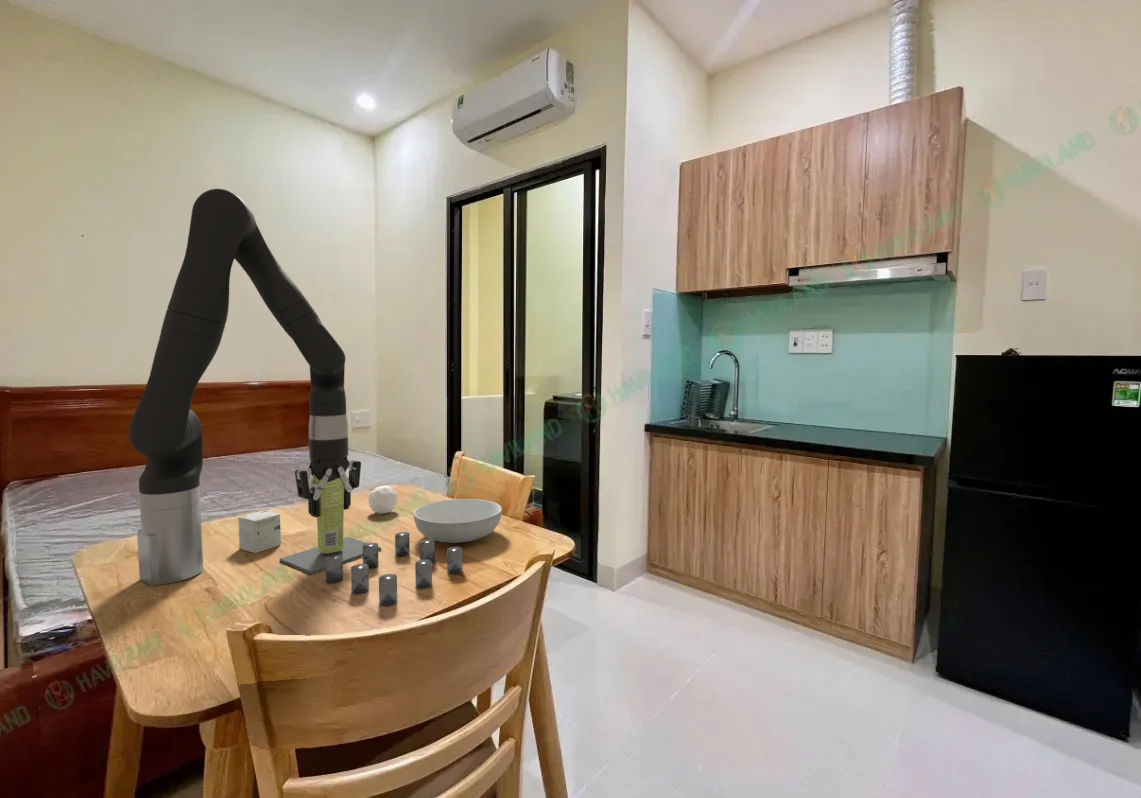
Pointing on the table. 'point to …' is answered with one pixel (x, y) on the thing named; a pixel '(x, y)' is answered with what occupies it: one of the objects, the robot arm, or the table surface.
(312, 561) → the slate mat
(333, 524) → the tube
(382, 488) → the ball
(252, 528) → the skincare box
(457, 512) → the serving bowl
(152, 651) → the table surface
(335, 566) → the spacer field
